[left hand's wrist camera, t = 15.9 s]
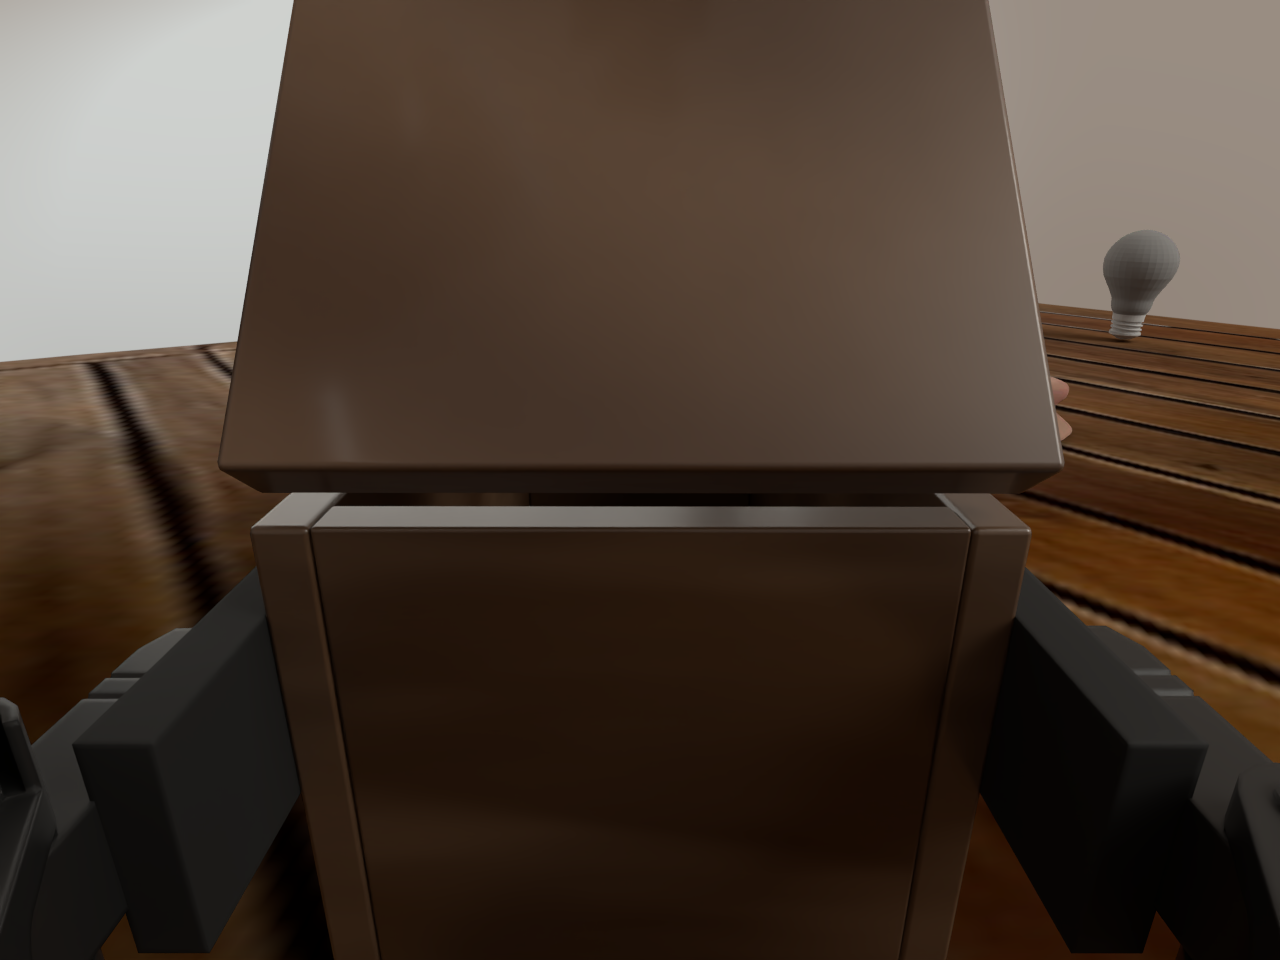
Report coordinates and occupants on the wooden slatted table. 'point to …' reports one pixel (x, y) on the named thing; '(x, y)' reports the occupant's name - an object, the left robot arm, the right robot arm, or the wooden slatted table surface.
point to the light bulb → (1137, 277)
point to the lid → (641, 254)
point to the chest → (640, 717)
